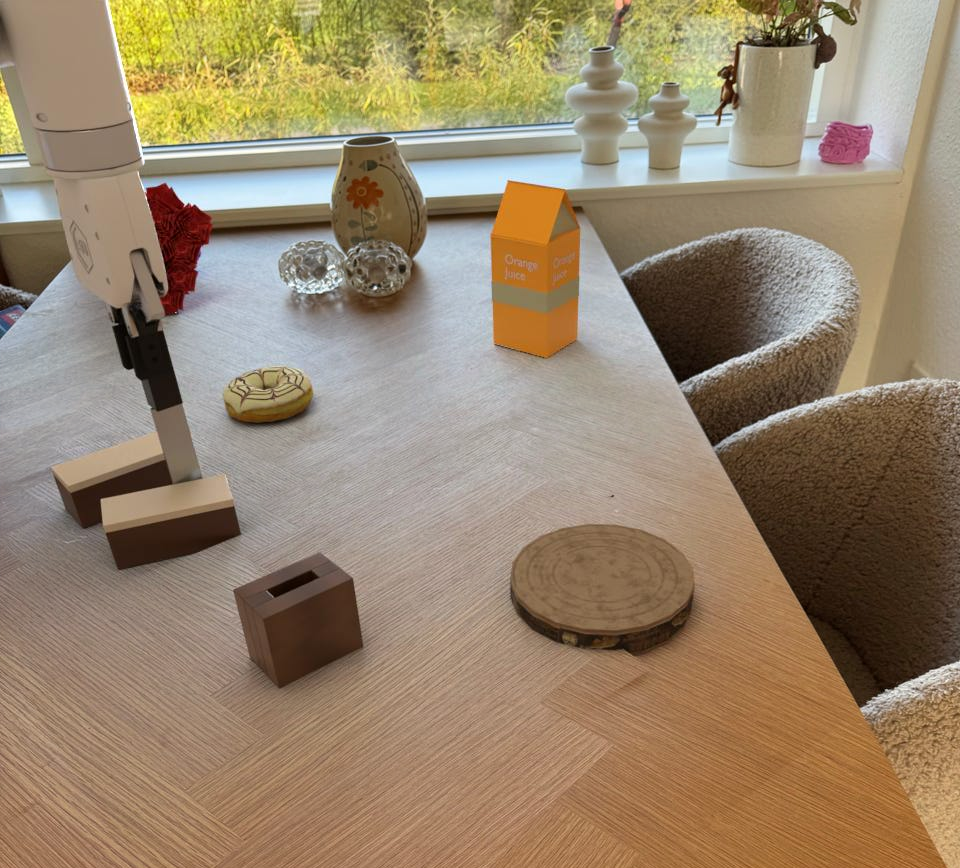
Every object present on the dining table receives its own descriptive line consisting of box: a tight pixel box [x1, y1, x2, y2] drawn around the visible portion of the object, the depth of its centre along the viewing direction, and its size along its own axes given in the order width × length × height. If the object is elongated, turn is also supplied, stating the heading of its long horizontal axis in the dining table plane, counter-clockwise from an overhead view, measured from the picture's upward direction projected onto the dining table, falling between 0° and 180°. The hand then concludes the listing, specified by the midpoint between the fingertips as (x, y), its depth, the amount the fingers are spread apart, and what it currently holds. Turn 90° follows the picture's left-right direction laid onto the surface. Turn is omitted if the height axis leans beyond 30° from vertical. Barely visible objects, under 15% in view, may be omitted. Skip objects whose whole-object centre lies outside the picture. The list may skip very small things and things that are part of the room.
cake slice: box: [101, 473, 242, 570], centre depth 93 cm, size 12×5×5 cm, turn 110°
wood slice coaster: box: [509, 523, 696, 656], centre depth 84 cm, size 16×16×3 cm
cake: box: [50, 431, 173, 529], centre depth 100 cm, size 12×5×5 cm, turn 128°
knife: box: [120, 306, 204, 485], centre depth 89 cm, size 3×2×18 cm
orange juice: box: [490, 179, 581, 359], centre depth 124 cm, size 8×9×20 cm
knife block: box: [232, 551, 364, 689], centre depth 77 cm, size 8×5×8 cm, turn 128°
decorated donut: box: [222, 365, 314, 424], centre depth 116 cm, size 10×11×4 cm
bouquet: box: [144, 182, 214, 315], centre depth 151 cm, size 20×16×30 cm
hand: (147, 368), depth 87 cm, fingers closed on knife, 2 cm apart
